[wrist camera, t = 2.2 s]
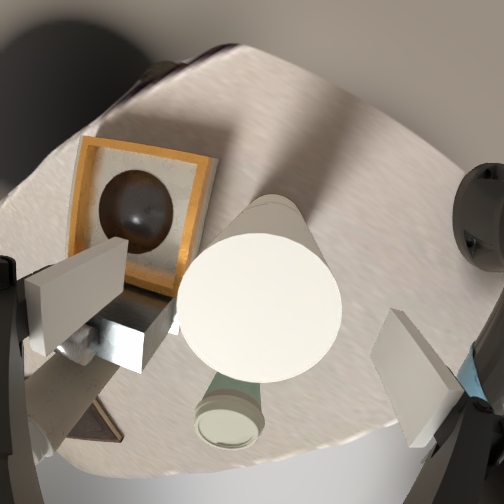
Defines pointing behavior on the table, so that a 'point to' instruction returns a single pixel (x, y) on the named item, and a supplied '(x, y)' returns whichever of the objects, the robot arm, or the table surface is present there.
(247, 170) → the table surface
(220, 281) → the cylindrical container
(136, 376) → the table surface
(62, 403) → the thermos bottle
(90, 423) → the hardcover book
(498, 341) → the robot arm
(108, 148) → the grey stand with tray
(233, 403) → the coffee cup
